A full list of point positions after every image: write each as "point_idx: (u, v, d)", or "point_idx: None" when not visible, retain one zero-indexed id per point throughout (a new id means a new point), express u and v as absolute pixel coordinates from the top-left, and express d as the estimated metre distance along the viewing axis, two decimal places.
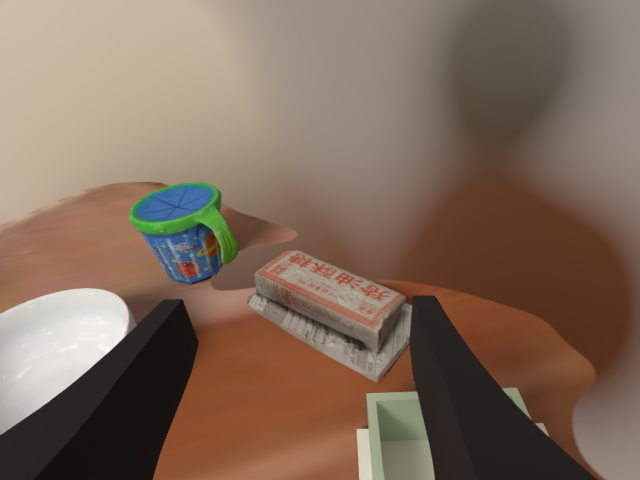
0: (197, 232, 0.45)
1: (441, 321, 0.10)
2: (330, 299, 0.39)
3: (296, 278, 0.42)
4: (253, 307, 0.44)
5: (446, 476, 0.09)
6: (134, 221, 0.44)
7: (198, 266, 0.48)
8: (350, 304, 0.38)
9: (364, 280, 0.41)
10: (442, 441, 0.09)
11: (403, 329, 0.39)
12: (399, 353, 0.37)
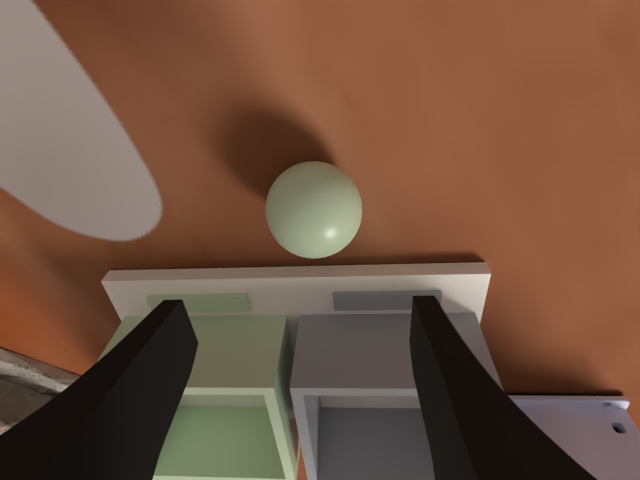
0: None
1: (441, 321, 0.10)
2: None
3: None
4: None
5: (446, 476, 0.09)
6: None
7: None
8: None
9: None
10: (442, 441, 0.09)
11: (5, 369, 0.29)
12: (46, 369, 0.29)
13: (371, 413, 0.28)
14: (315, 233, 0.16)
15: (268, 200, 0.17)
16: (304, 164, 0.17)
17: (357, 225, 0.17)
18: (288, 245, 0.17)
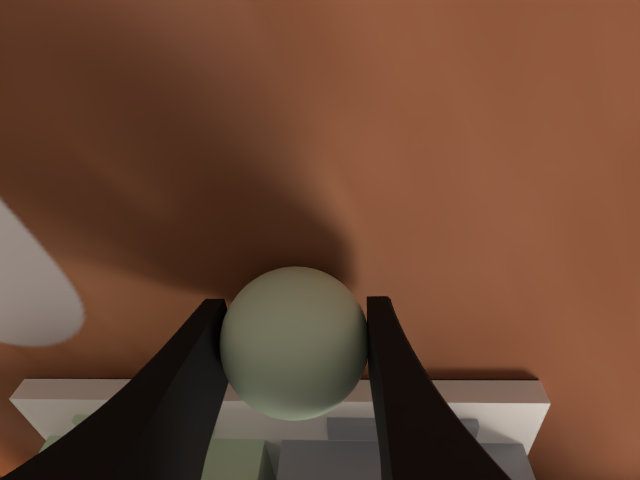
0: None
1: (389, 322, 0.10)
2: None
3: None
4: None
5: (384, 474, 0.09)
6: None
7: None
8: None
9: None
10: (382, 440, 0.09)
11: None
12: None
13: None
14: (294, 402, 0.10)
15: (222, 335, 0.11)
16: (278, 280, 0.11)
17: (362, 373, 0.11)
18: (253, 408, 0.11)
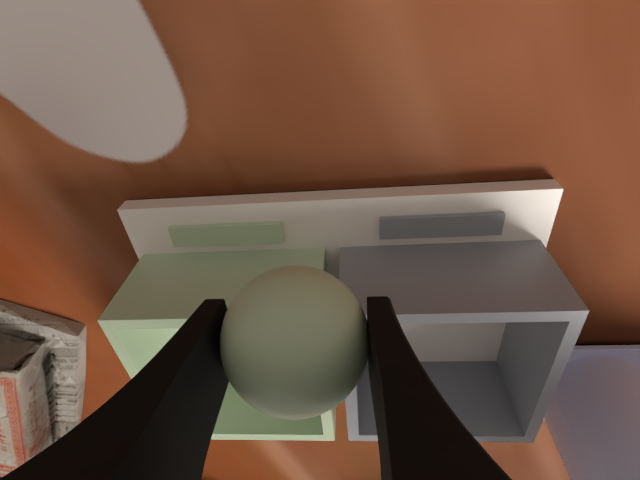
0: None
1: (389, 322, 0.10)
2: (8, 423, 0.27)
3: (2, 452, 0.30)
4: None
5: (384, 474, 0.09)
6: None
7: None
8: None
9: None
10: (382, 440, 0.09)
11: None
12: (26, 312, 0.26)
13: None
14: (294, 401, 0.10)
15: (222, 334, 0.11)
16: (278, 279, 0.11)
17: (362, 371, 0.11)
18: (253, 407, 0.11)
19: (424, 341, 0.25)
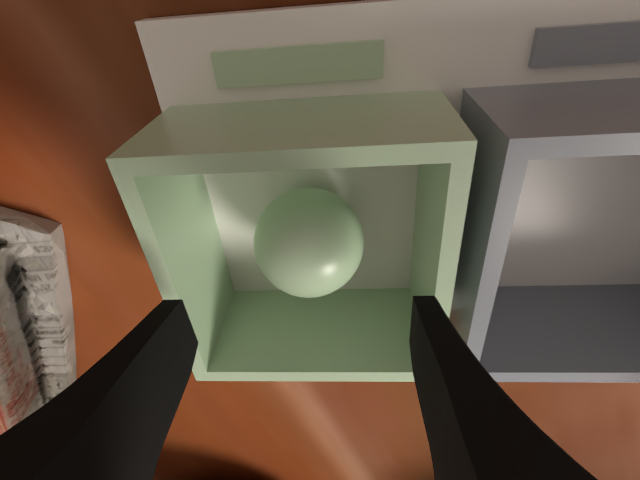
0: None
1: (441, 321, 0.10)
2: None
3: None
4: None
5: (446, 476, 0.09)
6: None
7: None
8: None
9: None
10: (442, 441, 0.09)
11: None
12: None
13: (529, 292, 0.19)
14: (310, 273, 0.14)
15: (256, 233, 0.15)
16: (297, 192, 0.15)
17: (358, 261, 0.15)
18: (279, 285, 0.15)
19: (551, 253, 0.18)
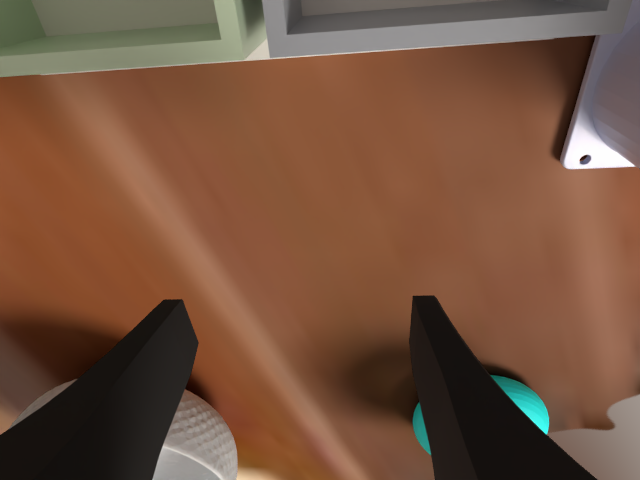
0: None
1: (441, 321, 0.10)
2: None
3: None
4: None
5: (446, 476, 0.09)
6: None
7: None
8: None
9: None
10: (442, 441, 0.09)
11: None
12: None
13: (395, 9, 0.15)
14: None
15: None
16: None
17: None
18: None
19: None
